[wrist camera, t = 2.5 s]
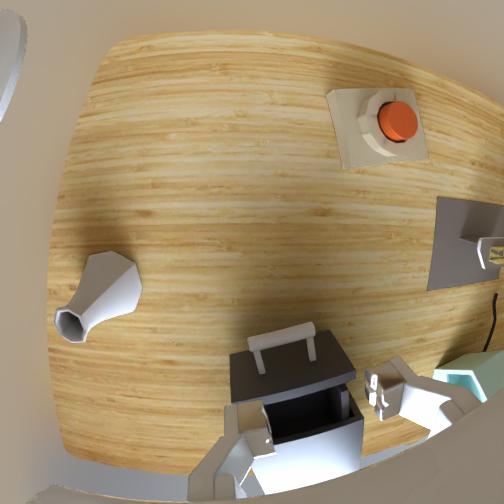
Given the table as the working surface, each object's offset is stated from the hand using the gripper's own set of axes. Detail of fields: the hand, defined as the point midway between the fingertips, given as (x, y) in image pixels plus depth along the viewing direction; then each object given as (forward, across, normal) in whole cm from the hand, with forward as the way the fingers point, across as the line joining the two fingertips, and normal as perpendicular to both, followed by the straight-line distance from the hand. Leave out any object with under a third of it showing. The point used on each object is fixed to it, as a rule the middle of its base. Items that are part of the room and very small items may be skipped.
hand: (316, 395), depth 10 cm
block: (+19, -15, -11) cm, 27 cm away
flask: (+19, +16, -2) cm, 25 cm away
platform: (+19, -30, +5) cm, 36 cm away
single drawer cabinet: (+19, 0, +23) cm, 30 cm away
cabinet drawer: (+18, 0, +14) cm, 23 cm away
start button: (+15, -15, -11) cm, 24 cm away
